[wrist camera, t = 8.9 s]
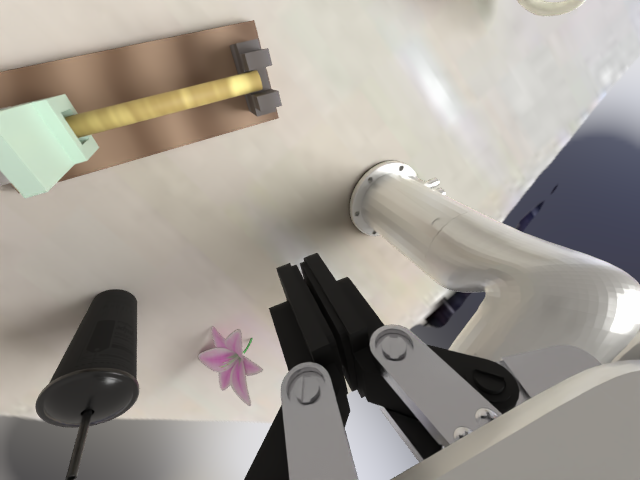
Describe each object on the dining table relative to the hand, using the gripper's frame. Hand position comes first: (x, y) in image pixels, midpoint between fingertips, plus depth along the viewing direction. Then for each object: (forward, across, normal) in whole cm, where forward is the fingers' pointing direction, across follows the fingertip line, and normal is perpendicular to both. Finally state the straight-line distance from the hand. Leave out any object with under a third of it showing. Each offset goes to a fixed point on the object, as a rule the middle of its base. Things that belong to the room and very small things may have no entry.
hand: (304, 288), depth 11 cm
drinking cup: (+27, +21, +15) cm, 38 cm away
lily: (+28, +11, +30) cm, 43 cm away
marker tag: (+23, +13, -6) cm, 27 cm away
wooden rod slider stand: (+27, +7, -6) cm, 29 cm away
